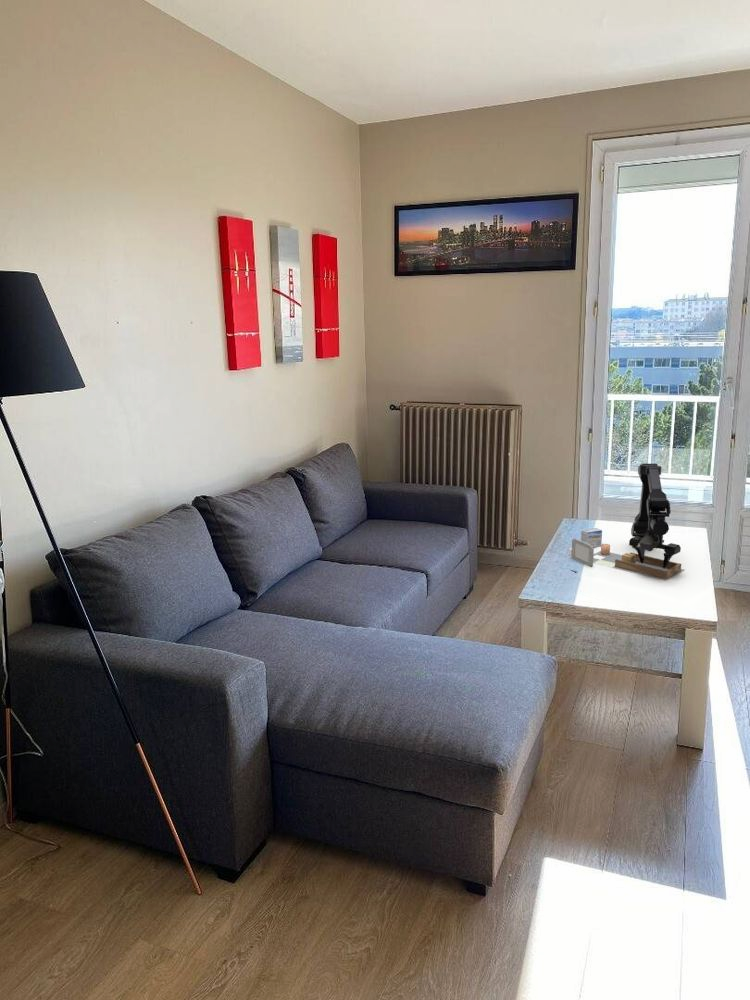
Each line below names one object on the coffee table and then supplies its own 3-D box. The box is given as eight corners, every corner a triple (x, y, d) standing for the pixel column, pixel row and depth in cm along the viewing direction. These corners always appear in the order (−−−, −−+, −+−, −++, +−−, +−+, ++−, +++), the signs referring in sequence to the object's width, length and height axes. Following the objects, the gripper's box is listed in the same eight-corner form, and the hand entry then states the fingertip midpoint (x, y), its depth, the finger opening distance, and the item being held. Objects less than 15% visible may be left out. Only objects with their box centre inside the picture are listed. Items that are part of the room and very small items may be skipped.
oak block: (626, 562, 307) (626, 552, 306) (635, 564, 305) (636, 554, 304) (621, 564, 305) (621, 555, 304) (630, 566, 302) (631, 557, 301)
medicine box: (586, 551, 325) (587, 532, 323) (580, 548, 329) (581, 529, 327) (601, 549, 328) (602, 530, 326) (595, 546, 332) (596, 527, 330)
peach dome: (603, 552, 320) (604, 543, 319) (611, 554, 318) (611, 544, 317) (599, 554, 318) (599, 545, 317) (606, 556, 315) (607, 546, 314)
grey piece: (555, 563, 312) (556, 540, 309) (573, 560, 315) (574, 537, 313) (575, 573, 300) (576, 549, 298) (593, 569, 303) (595, 546, 301)
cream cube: (571, 555, 321) (572, 546, 320) (580, 556, 319) (581, 547, 318) (568, 558, 318) (569, 549, 317) (578, 559, 316) (578, 550, 315)
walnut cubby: (630, 559, 311) (630, 552, 310) (680, 571, 296) (681, 564, 295) (614, 566, 302) (615, 559, 302) (665, 579, 287) (666, 572, 286)
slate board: (601, 553, 323) (602, 550, 323) (685, 572, 297) (685, 569, 297) (580, 562, 312) (580, 559, 311) (665, 584, 286) (665, 581, 286)
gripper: (623, 527, 294) (620, 565, 298) (669, 537, 281) (666, 576, 285) (637, 521, 302) (634, 558, 306) (682, 530, 289) (679, 569, 292)
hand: (653, 565), depth 297 cm, fingers open, 9 cm apart
